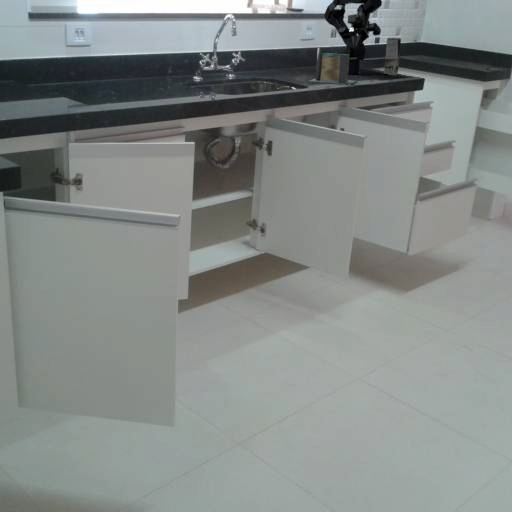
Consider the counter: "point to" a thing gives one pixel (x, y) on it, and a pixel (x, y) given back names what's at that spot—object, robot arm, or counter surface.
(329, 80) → the gate mat
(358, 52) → the robot arm
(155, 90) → the counter surface
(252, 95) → the counter surface
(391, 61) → the coffee box
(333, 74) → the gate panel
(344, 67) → the gate frame
